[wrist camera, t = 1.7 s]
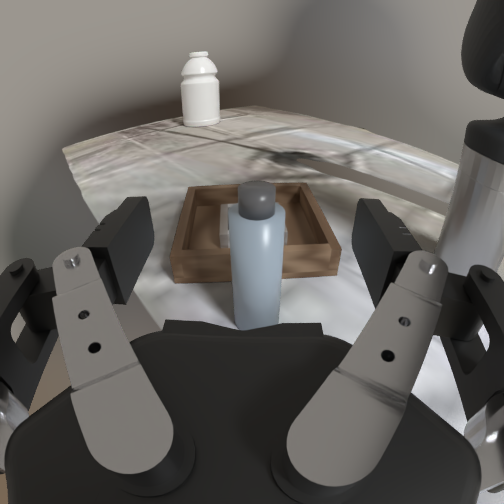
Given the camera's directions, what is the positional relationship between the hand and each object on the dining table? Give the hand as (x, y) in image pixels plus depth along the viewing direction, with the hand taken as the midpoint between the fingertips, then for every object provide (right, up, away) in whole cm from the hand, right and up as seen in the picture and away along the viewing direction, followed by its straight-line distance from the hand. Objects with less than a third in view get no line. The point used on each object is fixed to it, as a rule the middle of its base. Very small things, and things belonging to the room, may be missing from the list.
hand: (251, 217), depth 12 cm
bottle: (-19, +47, +97) cm, 109 cm away
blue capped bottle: (+1, -8, +19) cm, 21 cm away
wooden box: (0, +1, +32) cm, 32 cm away
